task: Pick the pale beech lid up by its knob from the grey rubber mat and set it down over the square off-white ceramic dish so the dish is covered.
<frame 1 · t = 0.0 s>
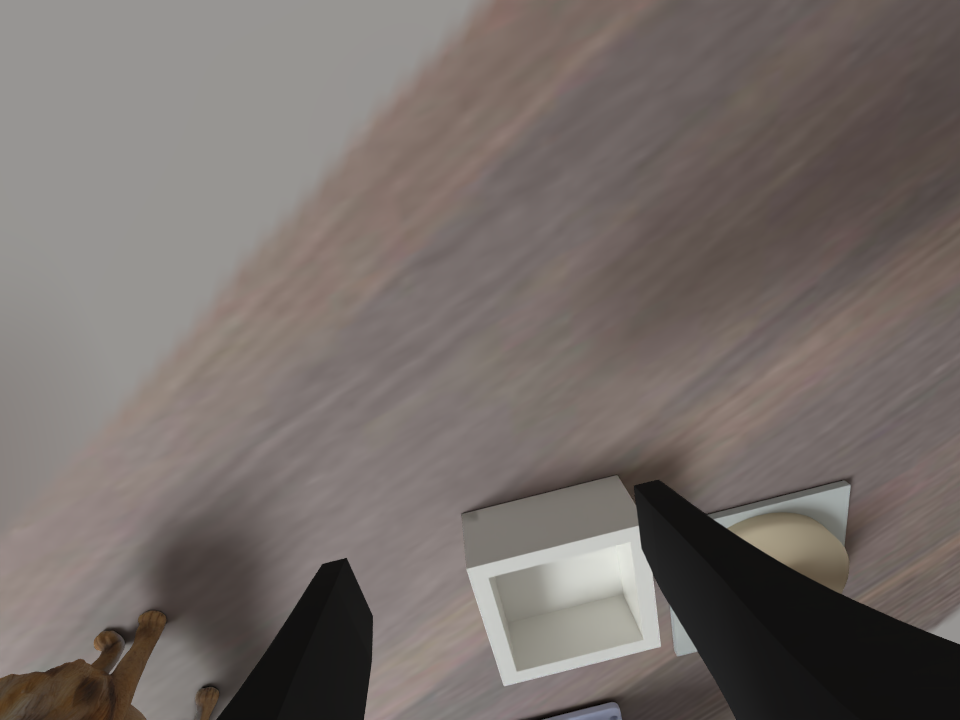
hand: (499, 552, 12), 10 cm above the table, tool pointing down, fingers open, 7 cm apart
lid: (757, 576, 27), resting on mat
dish: (552, 553, 25), on the table
mat: (753, 571, 27), on the table
lion figurine: (151, 661, 26), on the table
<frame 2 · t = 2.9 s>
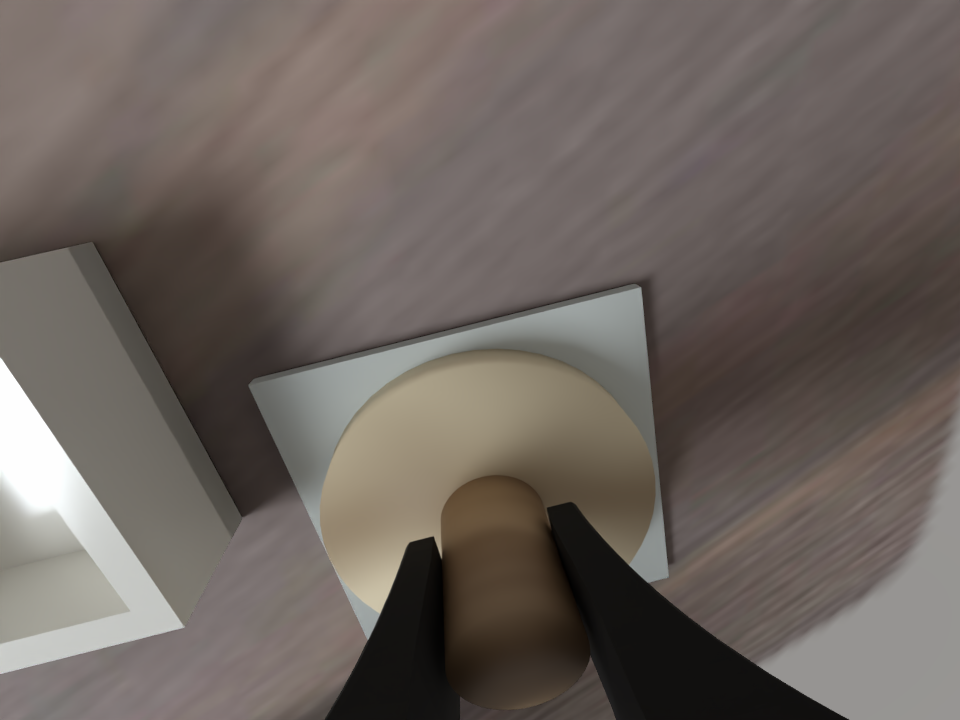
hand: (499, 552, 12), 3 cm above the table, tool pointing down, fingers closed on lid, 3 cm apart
lid: (488, 495, 14), resting on mat, touching gripper
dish: (23, 436, 12), on the table
mat: (487, 486, 14), on the table
when the fingers open (7 cm above the table, at t = 5.6 s): lid stays where it is, resting on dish.
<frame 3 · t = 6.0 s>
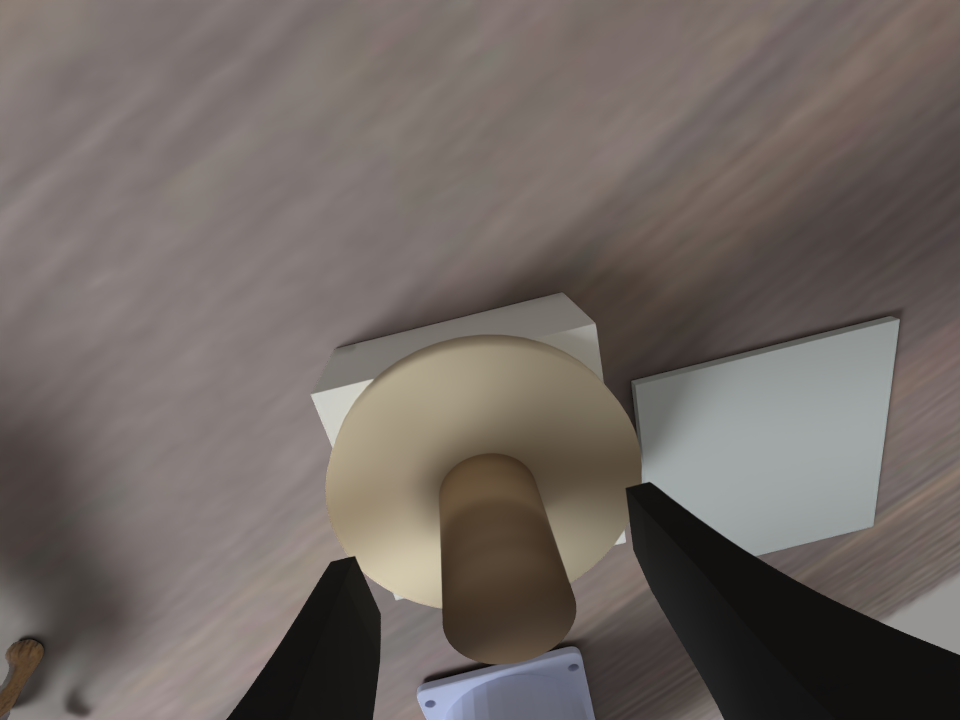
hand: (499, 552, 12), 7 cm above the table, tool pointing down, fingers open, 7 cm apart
lid: (484, 474, 15), point 3 cm above the table, touching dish
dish: (475, 420, 18), on the table
mat: (759, 457, 20), on the table
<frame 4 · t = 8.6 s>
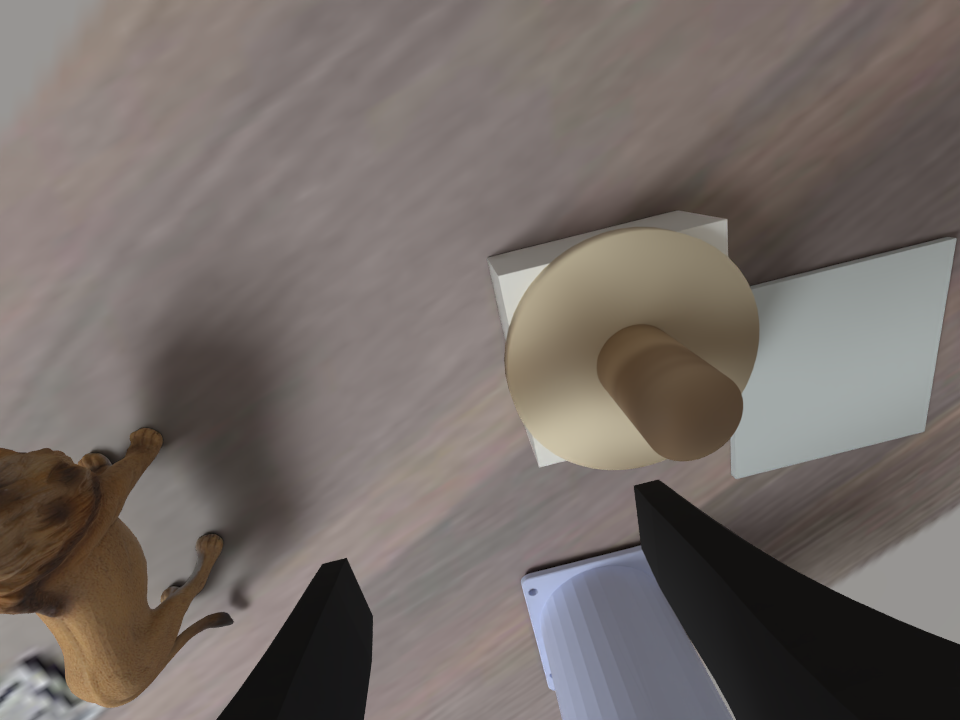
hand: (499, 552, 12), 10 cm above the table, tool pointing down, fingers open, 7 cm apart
lid: (624, 352, 18), point 3 cm above the table, touching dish
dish: (594, 324, 21), on the table
mat: (830, 365, 23), on the table
lion figurine: (145, 500, 22), on the table
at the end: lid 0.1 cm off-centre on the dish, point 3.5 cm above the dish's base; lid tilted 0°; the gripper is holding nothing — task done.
